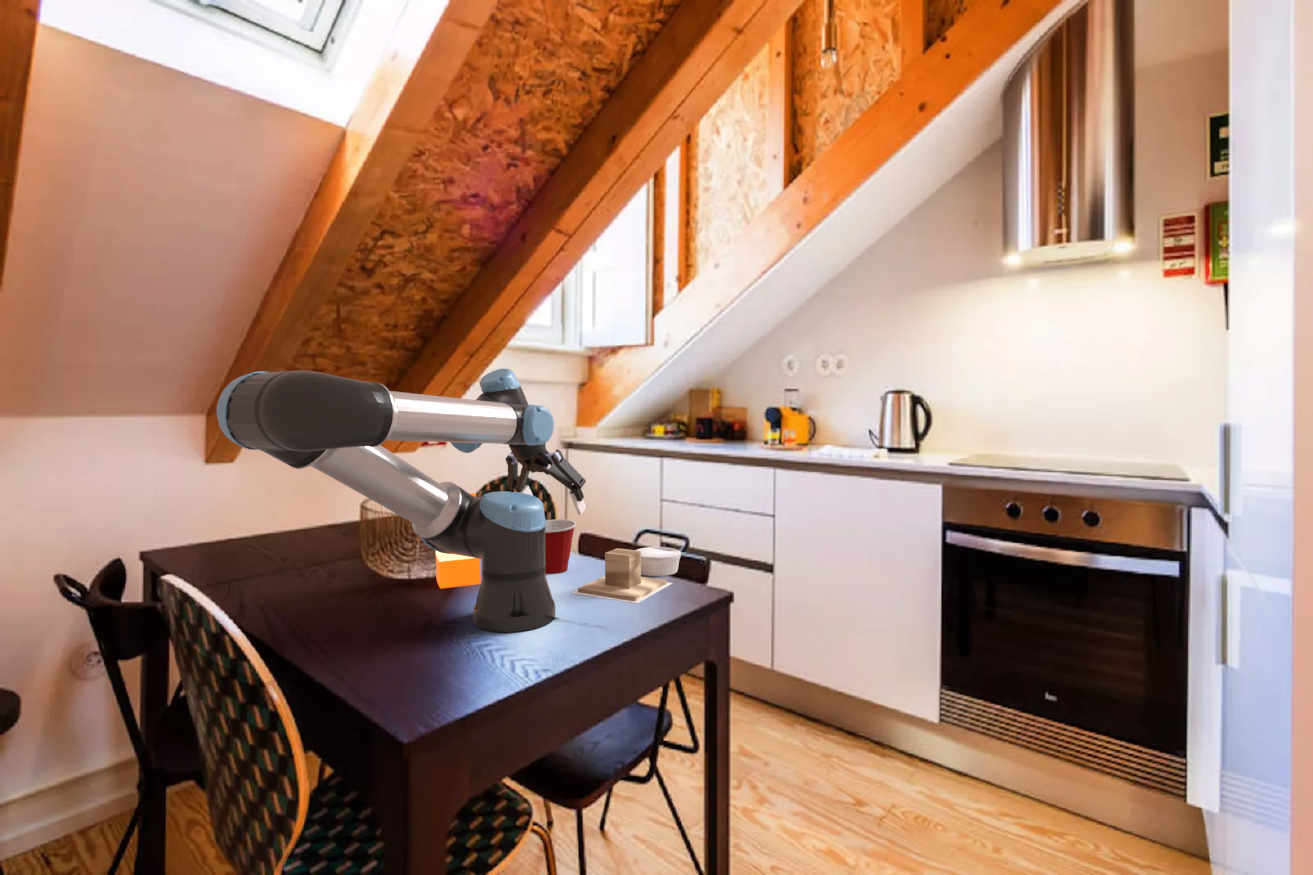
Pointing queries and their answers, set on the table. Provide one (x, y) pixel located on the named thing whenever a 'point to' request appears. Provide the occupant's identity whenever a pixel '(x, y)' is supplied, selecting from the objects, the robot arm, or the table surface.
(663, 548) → the ramekin
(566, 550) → the plastic cup
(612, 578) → the birch lid
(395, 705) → the table surface
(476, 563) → the orange juice
